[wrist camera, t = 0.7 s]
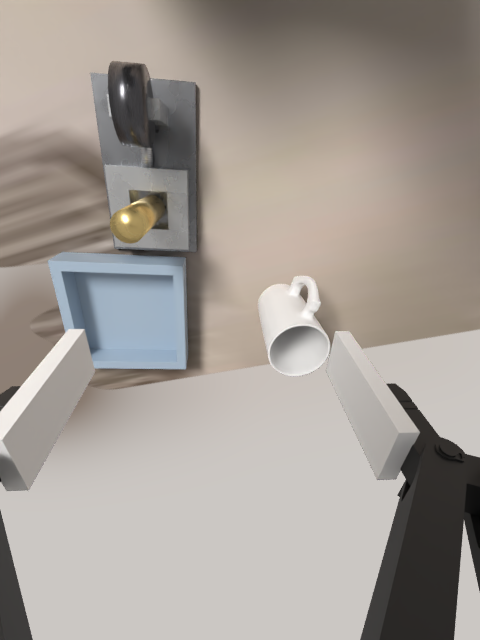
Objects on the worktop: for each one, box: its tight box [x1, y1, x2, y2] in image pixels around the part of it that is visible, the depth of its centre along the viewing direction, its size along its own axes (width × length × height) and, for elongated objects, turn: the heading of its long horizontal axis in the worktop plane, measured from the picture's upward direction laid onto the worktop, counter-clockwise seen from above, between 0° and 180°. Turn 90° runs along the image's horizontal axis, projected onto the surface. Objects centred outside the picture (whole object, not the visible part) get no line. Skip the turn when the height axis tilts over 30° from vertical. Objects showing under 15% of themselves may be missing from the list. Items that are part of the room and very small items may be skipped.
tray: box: [48, 252, 188, 369], centre depth 40 cm, size 15×15×4 cm
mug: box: [258, 276, 330, 377], centre depth 36 cm, size 10×7×12 cm, turn 162°
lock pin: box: [110, 195, 165, 244], centre depth 30 cm, size 3×3×11 cm
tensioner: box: [90, 61, 197, 252], centre depth 30 cm, size 17×10×8 cm, turn 176°
